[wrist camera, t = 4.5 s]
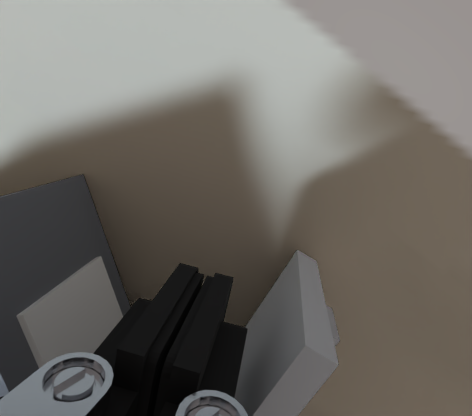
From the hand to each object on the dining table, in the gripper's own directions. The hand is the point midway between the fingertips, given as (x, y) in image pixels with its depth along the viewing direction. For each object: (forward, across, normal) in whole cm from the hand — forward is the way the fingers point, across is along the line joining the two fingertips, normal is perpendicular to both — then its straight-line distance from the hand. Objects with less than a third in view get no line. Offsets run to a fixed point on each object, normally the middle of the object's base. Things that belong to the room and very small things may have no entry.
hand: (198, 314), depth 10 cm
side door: (+3, -2, +3) cm, 5 cm away
